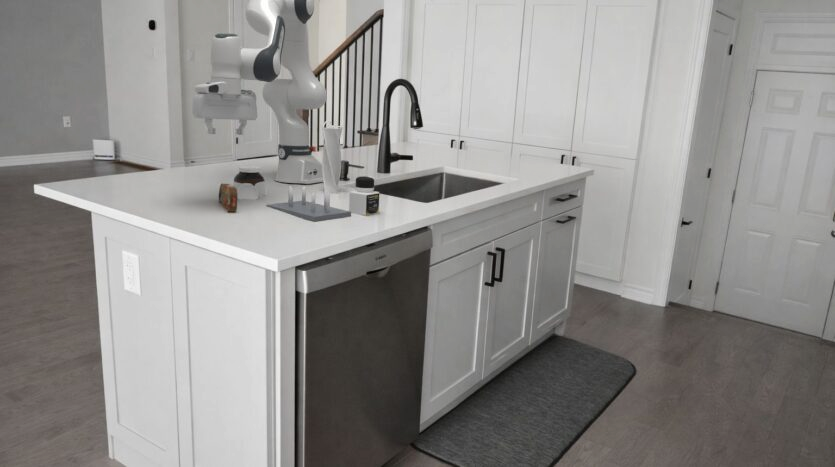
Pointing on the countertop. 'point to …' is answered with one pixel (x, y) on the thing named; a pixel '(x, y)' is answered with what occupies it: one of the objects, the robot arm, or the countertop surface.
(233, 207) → the tin
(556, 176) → the countertop surface
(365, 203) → the medicine bottle
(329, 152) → the skyscraper
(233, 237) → the countertop surface
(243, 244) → the countertop surface
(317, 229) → the countertop surface
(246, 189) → the spread jar
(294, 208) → the pin tray
